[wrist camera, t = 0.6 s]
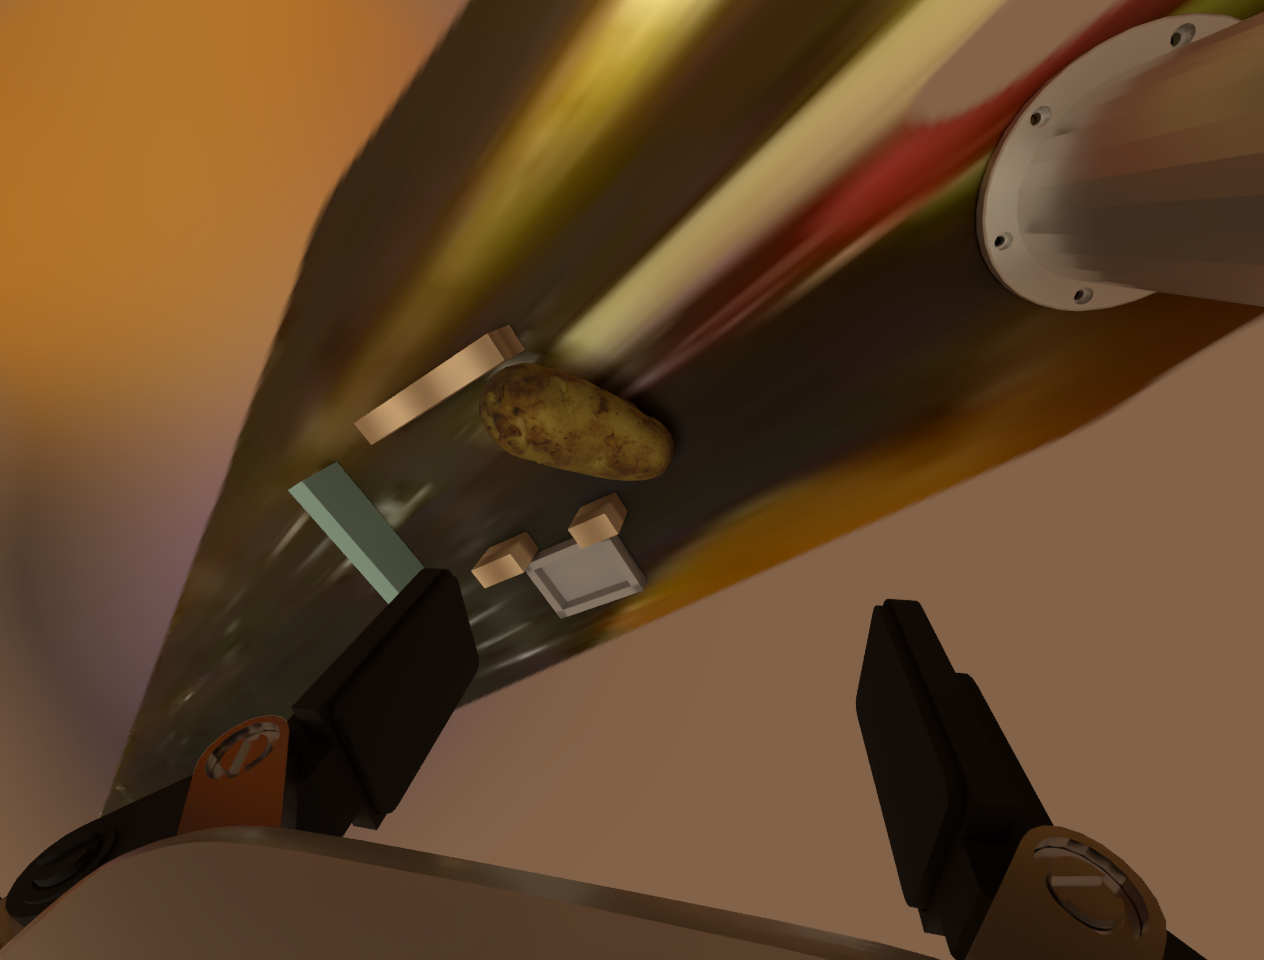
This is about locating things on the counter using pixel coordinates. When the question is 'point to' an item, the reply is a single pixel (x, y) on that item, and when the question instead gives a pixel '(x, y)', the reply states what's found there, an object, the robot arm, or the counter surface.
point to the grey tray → (585, 575)
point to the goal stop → (358, 530)
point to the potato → (572, 425)
